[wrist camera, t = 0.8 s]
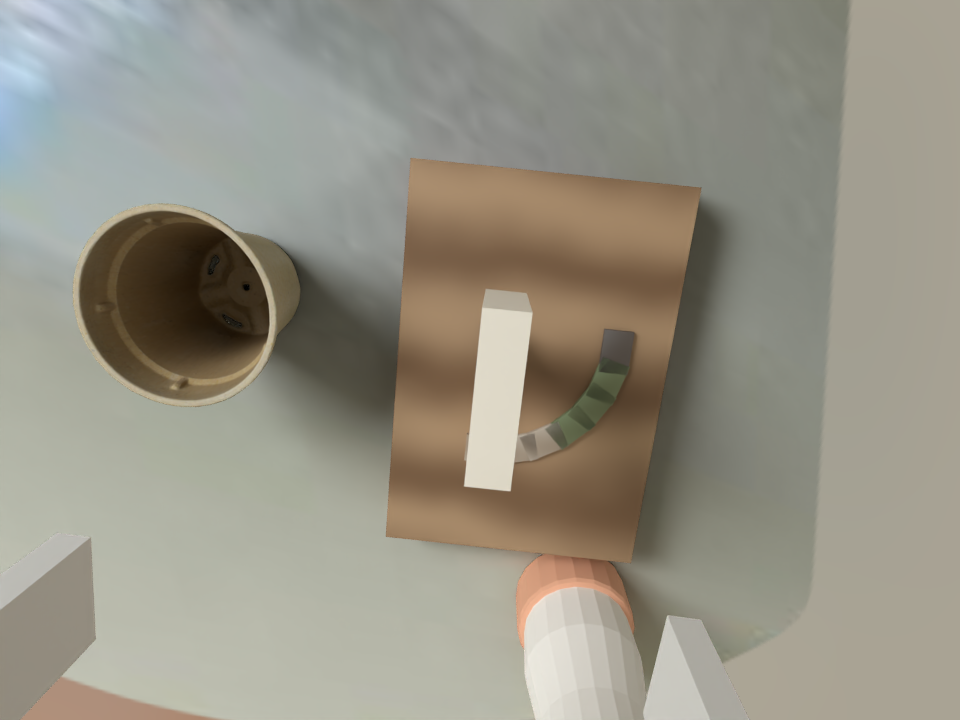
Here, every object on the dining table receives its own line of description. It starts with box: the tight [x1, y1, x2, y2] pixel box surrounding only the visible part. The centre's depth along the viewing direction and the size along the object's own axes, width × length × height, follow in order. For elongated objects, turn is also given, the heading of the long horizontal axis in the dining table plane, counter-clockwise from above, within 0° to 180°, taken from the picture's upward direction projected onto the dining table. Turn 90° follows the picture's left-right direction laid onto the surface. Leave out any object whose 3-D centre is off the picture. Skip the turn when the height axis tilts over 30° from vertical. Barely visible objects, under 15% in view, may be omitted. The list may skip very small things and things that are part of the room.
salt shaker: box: [516, 554, 646, 720], centre depth 30 cm, size 7×7×19 cm
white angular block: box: [464, 289, 533, 491], centre depth 27 cm, size 11×2×11 cm, turn 174°
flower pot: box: [73, 203, 300, 407], centre depth 31 cm, size 9×9×9 cm
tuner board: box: [386, 158, 701, 563], centre depth 34 cm, size 22×15×3 cm
